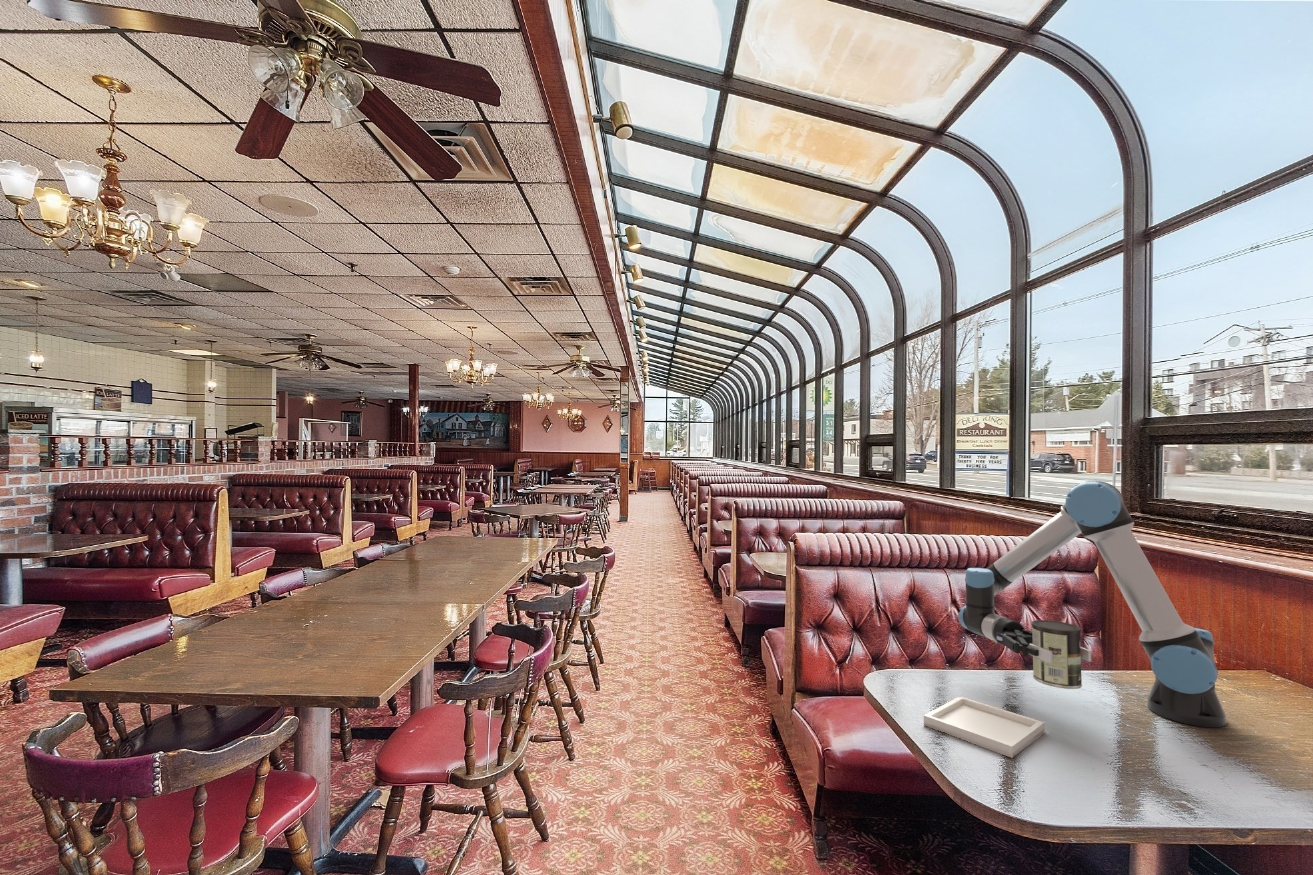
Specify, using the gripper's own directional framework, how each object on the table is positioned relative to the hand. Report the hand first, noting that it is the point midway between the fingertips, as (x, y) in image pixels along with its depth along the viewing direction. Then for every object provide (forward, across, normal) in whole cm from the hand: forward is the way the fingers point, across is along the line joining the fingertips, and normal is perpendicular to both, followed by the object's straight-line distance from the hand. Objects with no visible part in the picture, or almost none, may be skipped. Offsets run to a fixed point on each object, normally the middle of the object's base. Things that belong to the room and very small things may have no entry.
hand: (1070, 656), depth 141 cm
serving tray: (-4, +21, -18) cm, 28 cm away
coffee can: (-4, 0, -8) cm, 9 cm away
